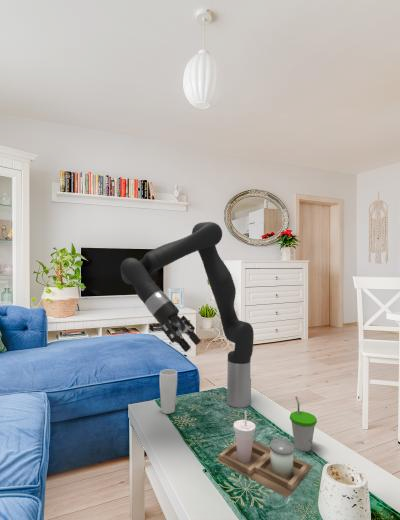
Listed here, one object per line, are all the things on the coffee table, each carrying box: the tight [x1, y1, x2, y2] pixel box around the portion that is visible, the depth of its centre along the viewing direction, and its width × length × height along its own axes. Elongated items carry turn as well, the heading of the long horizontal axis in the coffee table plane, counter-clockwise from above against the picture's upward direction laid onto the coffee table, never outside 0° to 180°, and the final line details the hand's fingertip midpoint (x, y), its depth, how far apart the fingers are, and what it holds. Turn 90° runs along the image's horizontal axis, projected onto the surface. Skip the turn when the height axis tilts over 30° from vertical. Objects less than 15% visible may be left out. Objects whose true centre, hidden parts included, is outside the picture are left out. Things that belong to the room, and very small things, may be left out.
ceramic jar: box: [269, 438, 295, 479], centre depth 88 cm, size 6×6×7 cm
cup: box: [289, 395, 318, 453], centre depth 99 cm, size 8×8×15 cm
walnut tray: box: [215, 439, 314, 499], centre depth 91 cm, size 16×22×3 cm
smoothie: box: [232, 410, 257, 463], centre depth 93 cm, size 6×6×14 cm
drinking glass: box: [159, 368, 178, 415], centre depth 124 cm, size 7×7×15 cm
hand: (193, 346), depth 102 cm, fingers open, 8 cm apart
